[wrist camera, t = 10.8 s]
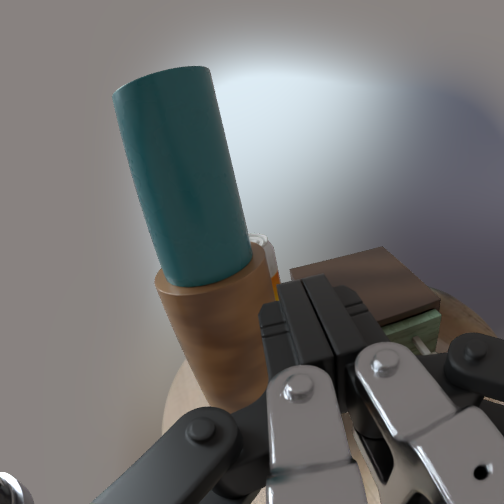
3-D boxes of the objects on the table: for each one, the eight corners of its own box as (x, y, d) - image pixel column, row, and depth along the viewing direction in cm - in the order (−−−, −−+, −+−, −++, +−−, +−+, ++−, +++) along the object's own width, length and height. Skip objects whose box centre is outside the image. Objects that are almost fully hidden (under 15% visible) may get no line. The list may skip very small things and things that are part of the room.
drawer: (450, 391, 23) (466, 341, 20) (344, 433, 23) (344, 389, 20) (386, 305, 38) (386, 260, 35) (306, 327, 38) (299, 283, 36)
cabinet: (430, 361, 28) (441, 298, 25) (324, 398, 28) (318, 337, 25) (383, 300, 41) (382, 246, 37) (298, 324, 41) (289, 268, 37)
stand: (225, 458, 24) (142, 305, 17) (224, 401, 31) (165, 254, 24) (306, 444, 24) (272, 277, 17) (292, 387, 31) (259, 231, 24)
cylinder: (157, 295, 17) (96, 94, 13) (172, 255, 23) (129, 102, 18) (256, 274, 17) (205, 57, 13) (249, 237, 23) (212, 77, 18)
